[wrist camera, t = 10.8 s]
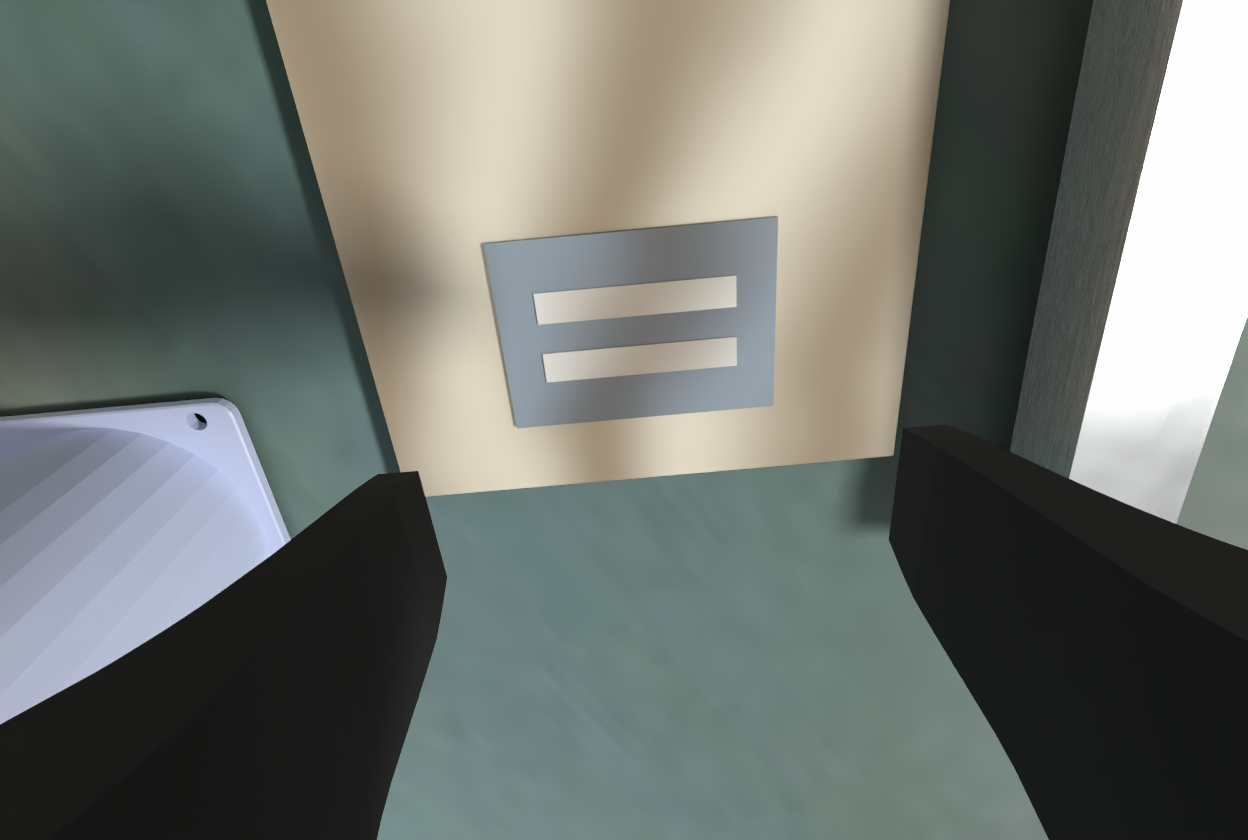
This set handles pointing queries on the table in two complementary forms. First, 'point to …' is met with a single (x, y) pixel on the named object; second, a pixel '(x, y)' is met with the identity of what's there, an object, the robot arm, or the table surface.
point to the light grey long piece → (1143, 253)
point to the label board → (623, 224)
